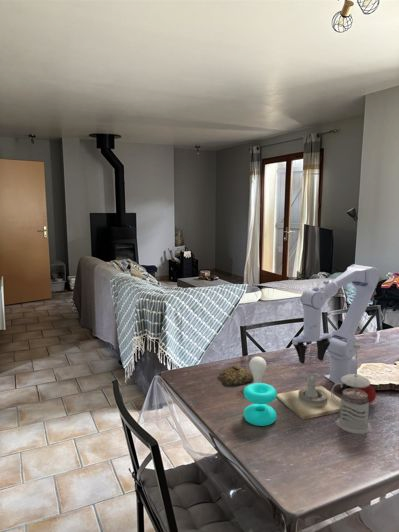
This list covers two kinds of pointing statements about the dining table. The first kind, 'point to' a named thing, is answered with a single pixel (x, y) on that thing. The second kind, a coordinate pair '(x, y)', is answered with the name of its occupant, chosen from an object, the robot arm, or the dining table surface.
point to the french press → (352, 418)
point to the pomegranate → (369, 393)
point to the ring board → (307, 409)
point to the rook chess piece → (311, 388)
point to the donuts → (260, 404)
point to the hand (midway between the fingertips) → (311, 361)
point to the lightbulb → (257, 368)
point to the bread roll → (235, 376)
